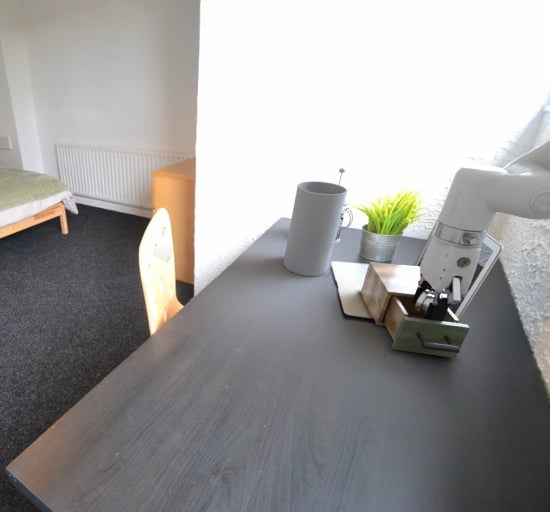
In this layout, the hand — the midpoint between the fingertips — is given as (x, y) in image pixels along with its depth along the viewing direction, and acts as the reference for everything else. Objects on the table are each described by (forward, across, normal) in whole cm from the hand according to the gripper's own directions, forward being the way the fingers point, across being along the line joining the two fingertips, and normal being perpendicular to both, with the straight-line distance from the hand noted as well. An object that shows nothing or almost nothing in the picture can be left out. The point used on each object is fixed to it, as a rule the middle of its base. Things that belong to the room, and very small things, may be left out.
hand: (426, 310), depth 77 cm
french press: (+9, +54, +8) cm, 56 cm away
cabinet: (+8, +12, 0) cm, 14 cm away
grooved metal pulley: (+1, 0, 0) cm, 1 cm away
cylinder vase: (+9, +30, +19) cm, 37 cm away
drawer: (+7, 0, 0) cm, 7 cm away
